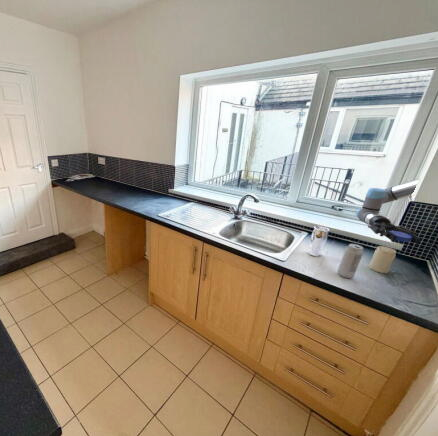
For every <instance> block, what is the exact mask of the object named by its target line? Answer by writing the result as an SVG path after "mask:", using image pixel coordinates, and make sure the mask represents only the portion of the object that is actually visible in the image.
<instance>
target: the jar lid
mask: <svg viewBox="0 0 438 436" xmlns="http://www.w3.org/2000/svg"><path fill="white" fill-rule="evenodd" d="M390 232H391V233H393V234H395V235H396V236H397V237H396V239H395V241H397V242H403V243H411V242H412V241H411V240H412V236H411V235H409V234H406V233H403V232H398V231H390Z"/></svg>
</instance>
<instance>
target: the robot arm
mask: <svg viewBox="0 0 438 436" xmlns="http://www.w3.org/2000/svg"><path fill="white" fill-rule="evenodd" d="M419 179H420V178H416V179H413V180H410V181H407V182H403V183H400V184H398V185H394V186H390V187H388V188H379V187H370V188H368V190H367V192H366V193H365V197H364V201H363V202H362V203H363V204H362V206H361V208H359V209H357V211H356V213H355V216H356V218H357V219H358V220H359V221H360V222H363V223H365V225H367V228H368V229H370V230H371V231H372V232H373V233H374V234H376V235H378V234H379V237H385V238H386V239H388V240H390V241H392V242H395V241H396V240H395V239H396V237H397V236H396V235H395V234H393V233H391V232H390V231H398V232H403V233H406V234H409V235H411V236H412V240H411V241H410V242H413V243H414V244H416V245H420V242H421V241H422V238H421V237H419V236H418V235H417V234H418V232H417V231H414V230H411V229H410V228H407V227H404V226H403V225H395V224H393V223H392V221H391V219H389V218H387V217H386V216H384V215H382V214H381V213H380V211H381V209H382V206H383V204H387V203H391V202H394V201H398V200H403V199H405V198H408V197H411V196H410V195H411V194H412V193H413V192H414V190H415V188H416V185H417V182H418V180H419Z"/></svg>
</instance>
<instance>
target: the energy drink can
mask: <svg viewBox="0 0 438 436" xmlns="http://www.w3.org/2000/svg"><path fill="white" fill-rule="evenodd" d="M364 252H365V251H364V247H363V246H362V245H360V244H356V243H349V244H348V246H346V247H345V250H344V253H343V256H342V258H341V261H340V263H339V266H338V269H337V273H338V275H339V276H341V277H343V278H346V279H352V278H353V277H355V274H356V272H357V269H358V268H359V265H360V262H361V260H362V257H363V255H364Z"/></svg>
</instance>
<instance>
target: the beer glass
mask: <svg viewBox="0 0 438 436" xmlns="http://www.w3.org/2000/svg"><path fill="white" fill-rule="evenodd" d="M330 230H331V229H329V228H328V227H326V226H324V225H323V226H321V225H315V226H314V228H313V230H312V233H311V235H310V245H309V248H308V250H307V253H308V254H309V255H310V256H313V257H321V256H322V250H323V248H324V246H325V244H326V243H327V240H328V238H329V235H330Z"/></svg>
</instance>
